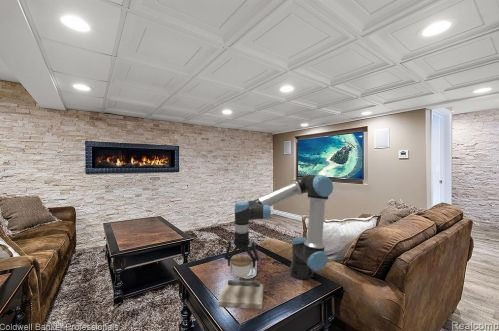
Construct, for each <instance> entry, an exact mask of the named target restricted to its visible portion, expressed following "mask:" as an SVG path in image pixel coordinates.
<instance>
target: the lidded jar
mask: <svg viewBox="0 0 499 331" xmlns="http://www.w3.org/2000/svg"><path fill="white" fill-rule="evenodd" d="M231 259H232V273H234V275H235V276H236V277H237V278H245V277H247V276H248V274H249V273H251V261H252V259H251V257H250V256H245V255H244V256H243V255H239V256H235V257H232V258H231Z"/></svg>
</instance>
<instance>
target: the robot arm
mask: <svg viewBox="0 0 499 331" xmlns="http://www.w3.org/2000/svg"><path fill="white" fill-rule="evenodd" d="M333 190H334V185H333V182H332V180H331V179H330V177H328V176H326V175H323V174H322V175H321V174H305V175H303V176H301V177H298V178H297V179H295V180H293V181H292V182H291V183H290V184H287V185H285V186H283V187H281V188H278V189H276V190H274V191H272V192H270V193H267V194H265V195H263V196H261V197H258V198H256V199H254V200H252V199H250V200H247V201H238V202H236V203H235V204H234V240H232V239H229V241H228V246H227V250H226V252H225V256H224V259H225V260H227V267H229V274H232V273H233V270H232V259H233V256H234V255H235V252H237V250H245V251H246V253H247V254H248V257H249V258H251V260H252V261H251V270H250V274H251V275H253V274H254V268H255V267H256V262H257V261H259V259H260V258H259V255H258V251H257V249H256V244H255V243H256V242H255V241H254V240H252V241H250V238H249V237H250V236H249V235H250V234H249V230H250V227H249V226H250V224H249V223H250V221H253V220H255V221H256V220H266V219H267V220H268V219H270V217H271V214H272V212H271V207H273V206H274V205H276V204H279V203H281V202H284V201H285V200H288V199H290V198H292V197H294V196H297V195H298V196H300V195H302V194H307V198H308V199H309V206H308V207H309V209H308V222H307V236H306V237H303V236H302V237H300V236H299V237H295V238H293V239H292V240H291V247H292V248H291V249H292V250H291V252H292V253H291V254H292V256H291V259H292V260H291V263H290V267H289V275H290V277H292V278H294V279H297V280H300V279H308V280H310V279H309V278H311V277H312V276H313V274H314V271H322V270H323V269H324V268H325V267H326V266H327V264H328V262H329V258H328V255H327V253H326V252H325V248H326V247H325V245H324V243H323V235H324V220H325V206H326V202H327V201H328V200H329V196H330V195H331V194H332V193H333ZM233 244H234V246H235V247H234V248H233V250H232V252H231V253H230V251H231V248H232V246H233ZM249 245H250V247H251V248H252V251H253V253H252V251H251V249H250V247H249ZM229 253H230V255H229ZM314 275H315V274H314ZM313 277H314V276H313ZM311 279H312V278H311Z"/></svg>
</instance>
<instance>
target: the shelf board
mask: <svg viewBox="0 0 499 331" xmlns="http://www.w3.org/2000/svg"><path fill="white" fill-rule="evenodd" d="M263 299H264V284H262V283H260V281H255V280H253V281H252V280H235V279H228V281H227V282H224V285H223V288H222V290H221V293H220V296H219V298H218V300H217V307H222V308H223V307H224V308H235V309H237V308H238V309H252V310H253V309H254V310H262V309H263Z"/></svg>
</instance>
